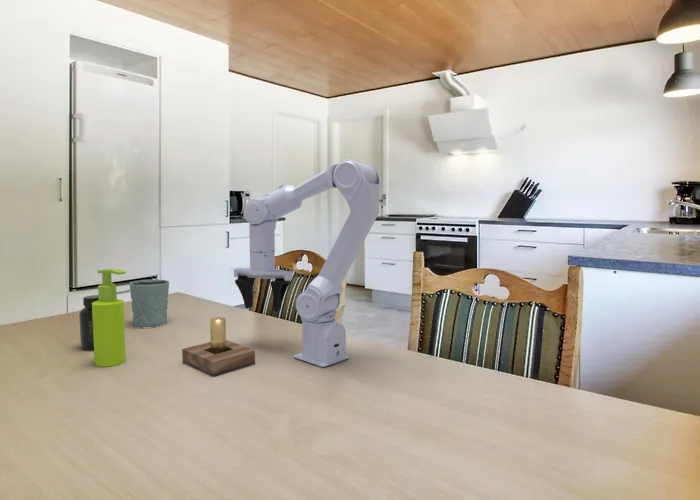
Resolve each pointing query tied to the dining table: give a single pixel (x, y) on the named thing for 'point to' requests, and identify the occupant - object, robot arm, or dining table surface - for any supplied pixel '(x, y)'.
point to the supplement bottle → (87, 323)
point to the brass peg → (218, 335)
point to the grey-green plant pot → (149, 302)
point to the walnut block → (218, 358)
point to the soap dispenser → (108, 323)
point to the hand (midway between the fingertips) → (263, 309)
